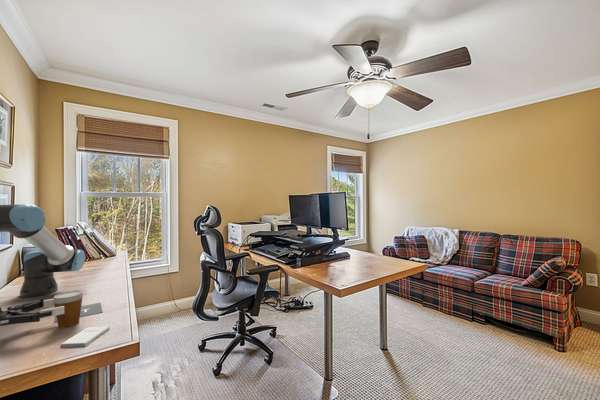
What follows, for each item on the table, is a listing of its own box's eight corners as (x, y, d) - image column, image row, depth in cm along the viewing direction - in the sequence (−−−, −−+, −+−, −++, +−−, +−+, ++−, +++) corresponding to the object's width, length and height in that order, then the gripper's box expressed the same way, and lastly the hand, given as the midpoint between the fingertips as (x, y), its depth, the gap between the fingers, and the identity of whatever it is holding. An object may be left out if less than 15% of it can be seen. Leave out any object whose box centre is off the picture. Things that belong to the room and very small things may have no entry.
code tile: (56, 311, 122) (56, 311, 122) (100, 302, 132) (100, 302, 132) (53, 322, 110) (53, 322, 110) (102, 312, 120) (102, 311, 120)
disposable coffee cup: (89, 321, 111) (89, 291, 111) (62, 331, 102) (62, 299, 102) (74, 318, 114) (73, 289, 115) (46, 328, 105) (46, 297, 106)
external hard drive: (60, 348, 91) (87, 330, 104) (85, 347, 92) (109, 330, 104) (60, 343, 91) (87, 326, 104) (85, 342, 92) (109, 325, 104)
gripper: (-8, 319, 104) (65, 305, 117) (-27, 345, 84) (63, 324, 98) (-9, 299, 104) (65, 287, 117) (-27, 321, 85) (63, 303, 98)
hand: (64, 304), depth 108 cm, fingers open, 13 cm apart
